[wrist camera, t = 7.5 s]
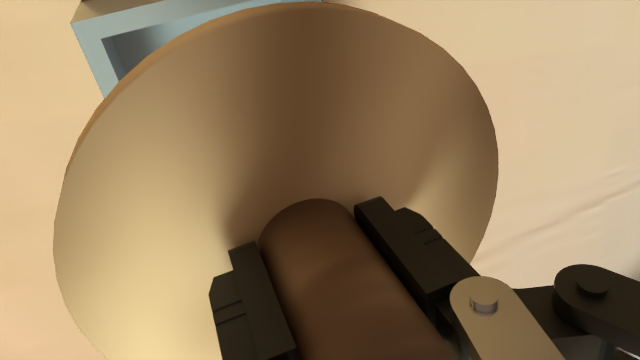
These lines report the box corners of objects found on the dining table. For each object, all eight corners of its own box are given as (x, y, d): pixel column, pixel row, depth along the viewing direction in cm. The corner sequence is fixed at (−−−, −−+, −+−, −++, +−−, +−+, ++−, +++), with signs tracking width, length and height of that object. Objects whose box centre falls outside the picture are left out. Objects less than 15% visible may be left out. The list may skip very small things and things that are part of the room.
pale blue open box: (283, -47, 24) (315, -37, 20) (316, 127, 29) (347, 163, 25) (80, 2, 22) (70, 23, 18) (156, 178, 27) (162, 226, 23)
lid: (482, -52, 11) (749, -21, 6) (474, 292, 18) (605, 436, 13) (-57, 85, 9) (-275, 297, 4) (161, 424, 16) (177, 662, 11)
